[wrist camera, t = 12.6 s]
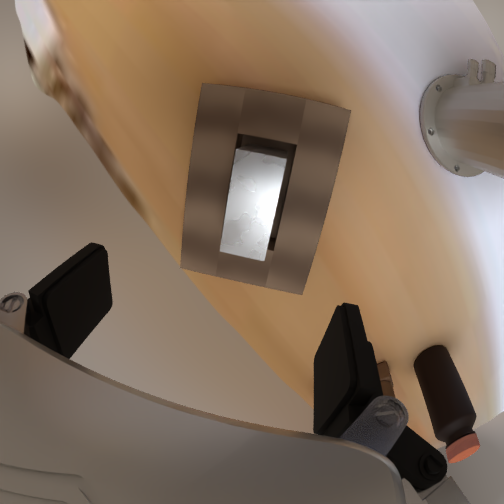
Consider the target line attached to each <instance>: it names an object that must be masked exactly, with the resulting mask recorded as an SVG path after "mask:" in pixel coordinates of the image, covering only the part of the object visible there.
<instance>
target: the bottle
mask: <svg viewBox="0 0 504 504" xmlns="http://www.w3.org/2000/svg"><path fill="white" fill-rule="evenodd" d="M414 370H415V373H416V375H417V378H418V381H419V384H420V387H421V390H422V393H423V396H424V399H425V402H426V406H427V409H428V412H429V416H430V419H431V422H432V426H433V430H434V433H435V437H436V438H437V439H438V440H440V441H443V442H446V445H447V446H446V454H447V458H448V462H449V463H455V462H458V461H461V460H463V459H465V458H467V457H469V456H470V455H472V454H473V453H474V452H476V451H477V449H479V447H480V444H479V441H478V438H477V435H476V433H475V431H473V430H472V427H473V425H474V422H475V420H476V413H475V411H474V408H473V406H472V403H471V401H470V398H469V396H468V393H467V391H466V389H465V387H464V384H463V382H462V380H461V378H460V375H459V373H458V371H457V369H456V367H455V365H454V363H453V361H452V358H451V356H450V354H449V352H448V350H447V349H446V348H445V347H443V346H434V347H431V348H429V349H427V350H425V351H424V352H423V353H421V354H420V355H419V356H418V358H417V359H416V361H415V364H414Z"/></svg>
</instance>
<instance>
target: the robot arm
mask: <svg viewBox="0 0 504 504" xmlns="http://www.w3.org/2000/svg"><path fill="white" fill-rule="evenodd" d="M478 66H479V63H478V62H477V61H476V60H473V59H468V75H465V76H462V75H457V74H453V75H446V76H442V77H440V78H438V79H436V80H435V81H433V82H432V83H431V84H430V85H429V87H428V88H427V90H426V91H425V94H424V96H423V99H422V103H421V109H420V122H421V129H422V133H423V137H424V140H425V142H426V145H427V147H428V149H429V151H430V152H431V154H432V156H433V157H434V158H435V160H436V161H437V162H438V163H439V164H440V165H441V166H442V167H444V168H445V169H446V170H448V171H450V172H451V173H453V174H456V175H459V176H464V177H472V176H476V175H479V174H481V173H483V172H484V171H485V172H488V173H491V174H493V175H496V176H499V177H501V178H504V82H496V83H494V79H495V74H496V65H495V64H494V63H493V62H491V61H489V60H482V70H481V73H482V79H481V81H479V80H478V79H477V73H478ZM436 88H437V90H436ZM428 130H429V133H428ZM454 166H455V168H454ZM29 295H30V298H29V299H28V300H27V297H26V296H25V295H24V294H23V293H20V292H13V293H9V294H7V295H5V296H4V297H3V298H1V299H0V504H470V503H469V501H468V500H467V498H466V497H465V496H464V494H463V492H462V491H461V490H460V488H459V487H458V485H457V484H456V482H455V481H454V480H453V478H452V477H451V476H450V477H449V478H447V476H446V472H447V463H446V460H445V458H444V456H443V455H442V454H441V453H440V452H439V451H438V450H437V449H435V448H434V447H433V446H432V445H430V444H429V443H428V442H426V441H425V440H424V439H423V438H421V437H420V436H419V435H418V434H416V433H415V432H414V431H413V430H412V429H410V428H409V427H408V426H407V422H408V412H407V409H406V407H405V406H404V404H403V403H402V402H400V401H399V400H398V399H396V398H394V397H391V396H383V391H382V386H381V381H380V376H379V372H378V367H377V363H376V359H375V355H374V350H373V346H372V344H371V342H369V341H367V337H366V333H365V329H364V325H363V321H362V318H361V314H360V310H359V307H358V305H354V304H349V303H343V304H342V305H341V306H339V305H338V306H337V307H336V309H335V311H334V314H333V316H332V319H331V321H330V323H329V326H328V328H327V330H326V332H325V335H324V337H323V339H322V341H321V344H320V346H319V348H318V350H317V352H316V355H315V358H314V428H313V430H314V434H311V433H305V432H298V431H292V430H285V429H280V428H274V427H269V426H264V425H259V424H254V423H249V422H244V421H239V420H235V419H230V418H226V417H222V416H218V415H215V414H211V413H207V412H203V411H200V410H196V409H193V408H189V407H186V406H183V405H180V404H177V403H173V402H170V401H167V400H164V399H162V398H159V397H156V396H153V395H150V394H147V393H145V392H142V391H139V390H137V389H134V388H132V387H129V386H126V385H124V384H122V383H119V382H117V381H115V380H112V379H110V378H108V377H105V376H103V375H101V374H99V373H97V372H94V371H92V370H90V369H88V368H86V367H84V366H82V365H80V364H78V363H76V362H74V361H72V360H70V357H72V355H73V354H74V353H75V351H76V350H77V349H78V348H79V346H80V345H81V344H82V343H83V342H84V340H85V339H86V338H87V337H88V335H89V334H90V333H91V332H92V331H93V329H94V328H95V327H96V326H97V325H98V323H99V322H100V321H101V320H102V319H103V317H104V316H105V315H106V314H107V313H108V311H109V310H110V309H111V307H112V293H111V285H110V276H109V265H108V254H107V251H106V250H105V248H104V246H103V245H100V244H96V243H89V244H88V245H87V246H85V247H84V248H83V249H81V250H80V251H78V252H77V253H76V254H75V255H73V256H72V257H70V258H69V259H68V260H66V261H65V262H64V263H62V264H61V265H60V266H58V267H57V268H56V269H55V270H53V271H52V272H51V273H50V274H48V275H47V276H46V277H45V278H43V279H42V280H41V281H40V282H39V283H37V284H36V285H35V286H34V287H32V288H31V289H30V290H29ZM317 434H318V435H317Z"/></svg>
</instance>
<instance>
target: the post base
mask: <svg viewBox="0 0 504 504" xmlns="http://www.w3.org/2000/svg"><path fill="white" fill-rule="evenodd" d="M350 113H351V110H348V109H345V108H341V107H337V106H334V105H330V104H326V103H322V102H318V101H314V100H310V99H305V98H301V97H296V96H291V95H286V94H281V93H275V92H270V91H264V90H257V89H251V88H244V87H236V86H227V85H218V84H206V83H202V87H201V93H200V99H199V104H198V110H197V117H196V123H195V130H194V136H193V144H192V151H191V158H190V166H189V175H188V183H187V193H186V202H185V213H184V224H183V236H182V250H181V265H180V268H183V269H187V270H191V271H195V272H199V273H204V274H208V275H212V276H216V277H221V278H225V279H230V280H234V281H238V282H243V283H247V284H252V285H257V286H261V287H266V288H270V289H275V290H280V291H285V292H289V293H294V294H299V295H302V294H303V291H304V288H305V284H306V281H307V278H308V275H309V272H310V268H311V265H312V262H313V259H314V255H315V252H316V248H317V245H318V242H319V238H320V235H321V231H322V228H323V224H324V220H325V217H326V213H327V209H328V206H329V202H330V198H331V194H332V191H333V187H334V183H335V179H336V175H337V171H338V167H339V162H340V158H341V154H342V150H343V145H344V141H345V137H346V132H347V127H348V123H349V118H350ZM250 143H251V144H257V145H262V146H267V147H272V148H277V149H281V150H286V151H288V153H287V161H286V165H285V170H284V175H283V179H282V184H281V188H280V193H279V198H278V202H277V207H276V211H275V216H274V220H273V225H272V229H271V234H270V238H269V242H268V247H267V251H266V256H265V260H264V261H260V260H256V259H251V258H247V257H242V256H238V255H234V254H229V253H225V252H220V246H221V239H222V232H223V226H224V219H225V213H226V206H227V200H228V194H229V188H230V182H231V176H232V170H233V164H234V158H235V152H236V149H237V148H240V147H242V146H245V145H247V144H250Z"/></svg>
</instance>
